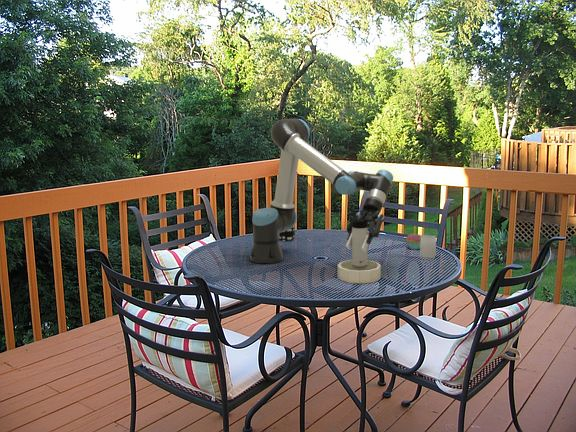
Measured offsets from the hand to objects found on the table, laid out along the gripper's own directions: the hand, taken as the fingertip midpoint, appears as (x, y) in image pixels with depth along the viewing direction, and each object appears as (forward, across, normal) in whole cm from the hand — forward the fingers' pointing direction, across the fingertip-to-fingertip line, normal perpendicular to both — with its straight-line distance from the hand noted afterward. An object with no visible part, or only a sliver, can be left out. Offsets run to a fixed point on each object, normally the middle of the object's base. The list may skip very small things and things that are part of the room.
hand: (355, 248), depth 217 cm
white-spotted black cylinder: (-20, +64, -39) cm, 78 cm away
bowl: (+7, 0, -12) cm, 13 cm away
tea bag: (-24, -12, -43) cm, 51 cm away
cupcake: (-32, 0, -51) cm, 60 cm away
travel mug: (+4, 0, -9) cm, 9 cm away
